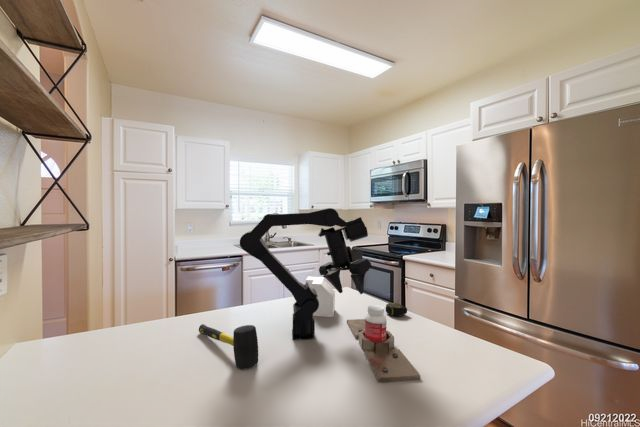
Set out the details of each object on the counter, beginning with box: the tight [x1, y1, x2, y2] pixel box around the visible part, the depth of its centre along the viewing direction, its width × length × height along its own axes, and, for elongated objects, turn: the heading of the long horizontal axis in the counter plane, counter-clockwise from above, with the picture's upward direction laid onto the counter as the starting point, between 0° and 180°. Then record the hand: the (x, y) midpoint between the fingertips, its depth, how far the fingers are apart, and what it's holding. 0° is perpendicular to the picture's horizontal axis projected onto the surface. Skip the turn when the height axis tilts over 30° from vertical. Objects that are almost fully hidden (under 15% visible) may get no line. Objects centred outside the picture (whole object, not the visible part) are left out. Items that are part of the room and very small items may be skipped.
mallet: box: [198, 323, 259, 370], centre depth 77 cm, size 29×6×10 cm, turn 47°
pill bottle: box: [364, 304, 387, 341], centre depth 80 cm, size 6×6×11 cm
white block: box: [305, 276, 336, 318], centre depth 107 cm, size 11×11×12 cm
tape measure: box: [385, 302, 408, 317], centre depth 104 cm, size 7×7×4 cm
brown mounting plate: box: [346, 318, 421, 383], centre depth 80 cm, size 34×10×3 cm, turn 7°
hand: (351, 293), depth 87 cm, fingers open, 9 cm apart
